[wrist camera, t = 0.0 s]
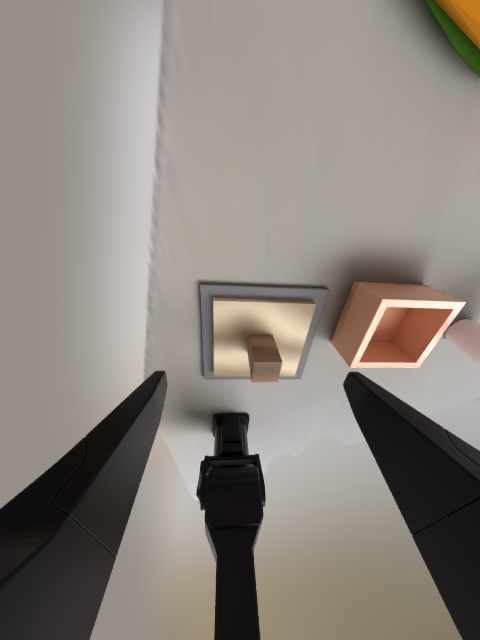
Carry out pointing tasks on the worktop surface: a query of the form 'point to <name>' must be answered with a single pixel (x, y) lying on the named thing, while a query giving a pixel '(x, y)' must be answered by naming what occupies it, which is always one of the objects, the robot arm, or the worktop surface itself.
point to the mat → (255, 292)
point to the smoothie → (466, 337)
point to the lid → (259, 337)
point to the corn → (461, 27)
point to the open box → (392, 324)
